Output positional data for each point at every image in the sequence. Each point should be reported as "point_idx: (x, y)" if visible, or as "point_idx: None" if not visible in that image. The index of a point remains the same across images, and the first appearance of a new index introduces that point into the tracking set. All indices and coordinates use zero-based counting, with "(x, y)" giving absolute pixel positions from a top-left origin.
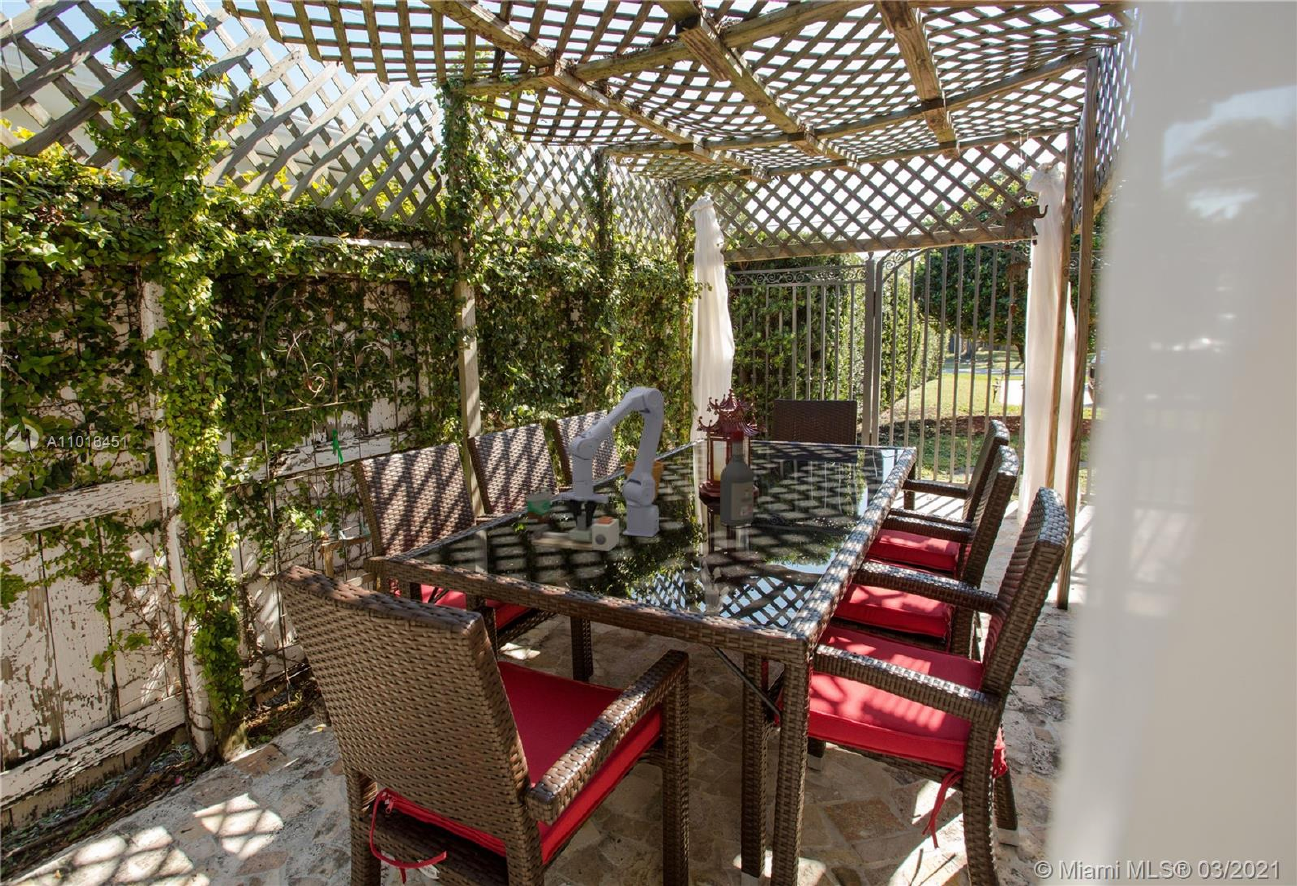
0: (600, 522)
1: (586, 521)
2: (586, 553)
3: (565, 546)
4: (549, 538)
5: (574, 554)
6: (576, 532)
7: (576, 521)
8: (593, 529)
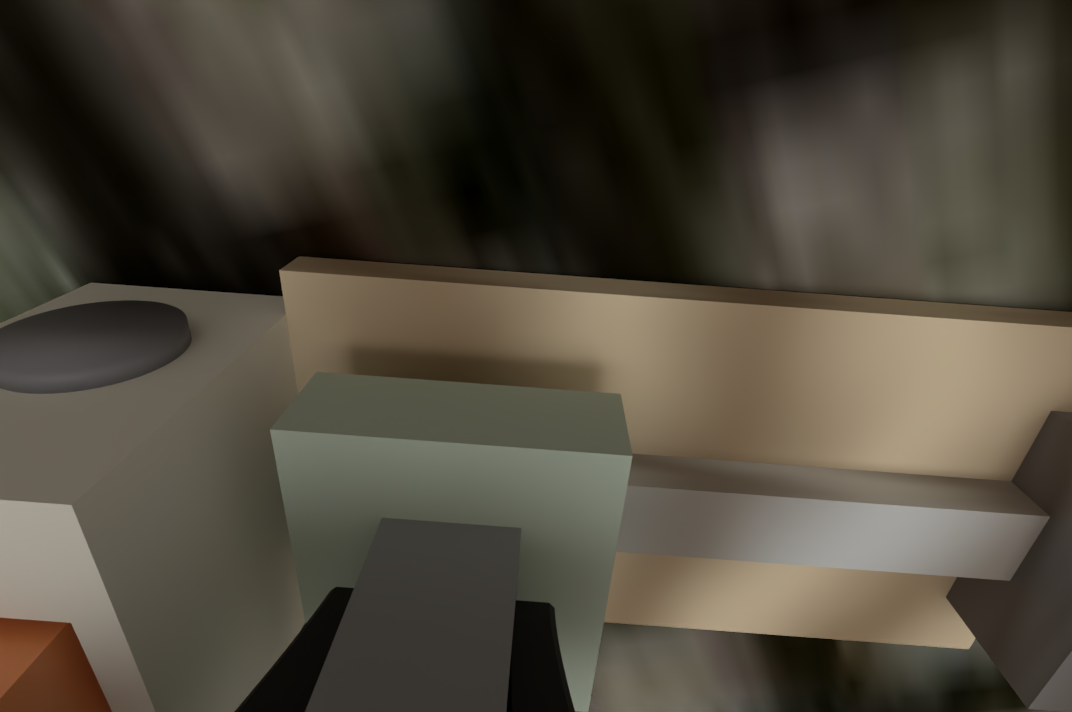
0: (6, 649)
1: (315, 671)
2: (302, 134)
3: (648, 287)
4: (910, 475)
5: (440, 49)
6: (499, 441)
7: (537, 673)
8: (111, 447)
